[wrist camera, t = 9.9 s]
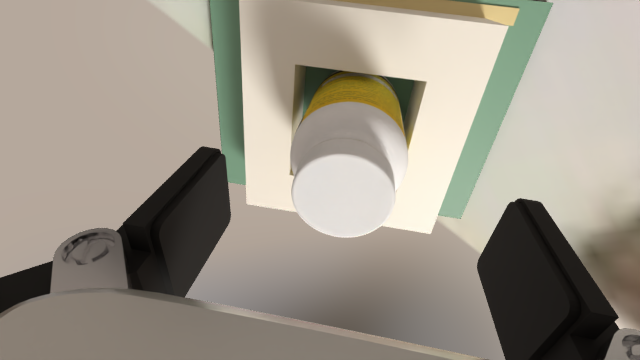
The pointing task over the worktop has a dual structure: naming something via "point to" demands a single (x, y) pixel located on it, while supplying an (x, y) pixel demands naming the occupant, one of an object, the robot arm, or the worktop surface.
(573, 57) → the worktop surface
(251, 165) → the board
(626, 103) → the worktop surface
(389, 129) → the supplement bottle
